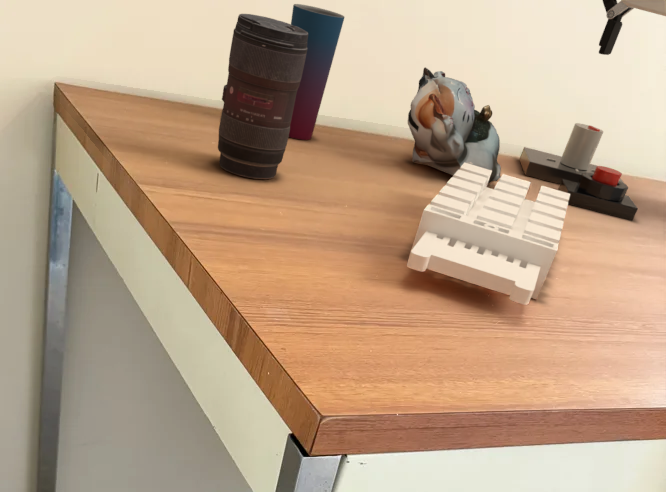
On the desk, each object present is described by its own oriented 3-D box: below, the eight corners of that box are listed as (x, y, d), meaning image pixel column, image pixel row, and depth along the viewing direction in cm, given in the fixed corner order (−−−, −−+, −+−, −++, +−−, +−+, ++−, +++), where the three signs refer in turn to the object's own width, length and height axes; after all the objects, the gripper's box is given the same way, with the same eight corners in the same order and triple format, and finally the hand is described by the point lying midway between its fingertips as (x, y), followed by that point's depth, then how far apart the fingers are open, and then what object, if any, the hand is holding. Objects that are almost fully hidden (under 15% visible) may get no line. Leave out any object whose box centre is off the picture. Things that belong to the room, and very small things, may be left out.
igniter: (623, 207, 121) (634, 183, 119) (632, 220, 115) (644, 195, 113) (557, 190, 121) (567, 165, 119) (563, 202, 116) (573, 177, 113)
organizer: (570, 193, 98) (551, 275, 71) (553, 234, 101) (529, 327, 74) (464, 162, 100) (406, 229, 73) (451, 202, 103) (390, 282, 76)
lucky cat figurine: (504, 194, 112) (502, 90, 101) (414, 209, 115) (403, 110, 104) (496, 136, 121) (494, 36, 110) (413, 152, 124) (403, 55, 113)
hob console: (608, 182, 134) (615, 168, 132) (620, 200, 125) (627, 185, 124) (519, 159, 134) (524, 145, 133) (524, 175, 125) (530, 160, 124)
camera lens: (234, 181, 92) (260, 26, 82) (201, 157, 97) (222, 9, 87) (294, 183, 96) (325, 36, 86) (259, 161, 101) (285, 19, 91)
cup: (325, 139, 117) (353, 17, 108) (302, 143, 112) (329, 16, 103) (286, 125, 119) (309, 4, 110) (261, 128, 115) (283, 2, 105)
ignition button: (614, 183, 118) (619, 170, 117) (618, 189, 115) (624, 176, 114) (589, 176, 118) (594, 163, 117) (593, 182, 115) (598, 169, 114)
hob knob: (554, 159, 129) (570, 119, 125) (576, 162, 131) (592, 123, 127) (570, 168, 126) (587, 127, 122) (593, 171, 127) (610, 131, 124)
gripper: (626, -109, 103) (569, 46, 114) (765, -81, 96) (690, 81, 106) (645, -100, 108) (588, 47, 119) (778, -73, 101) (705, 81, 112)
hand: (636, 63), depth 113 cm, fingers open, 9 cm apart
